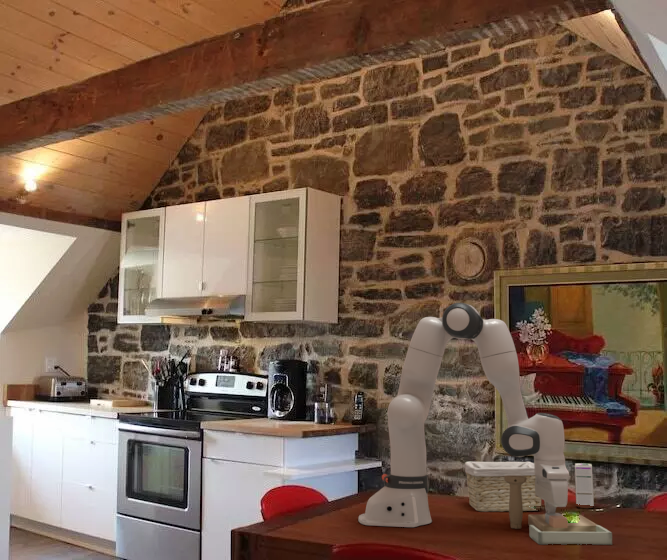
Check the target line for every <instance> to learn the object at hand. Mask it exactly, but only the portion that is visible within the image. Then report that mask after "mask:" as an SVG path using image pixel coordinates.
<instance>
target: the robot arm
mask: <svg viewBox="0 0 667 560" xmlns="http://www.w3.org/2000/svg"><path fill="white" fill-rule="evenodd" d="M469 339H470V340H472V341H473V342H474V344H475V345H476V348H477V352H478V355H479V359H480V364H481V367H482V370H483V372H484V375H485V377H486V379H487V380H488V381H489V382H490V383H491V385H492V386H494V388H495V389H496V390H497V391H498V394H499V396H500V398H501V400H502V405H503V407H504V408H503V409H504V412H505V415H506V419H507V427H506V428H505V429H504V431H503V432H502V433H501V438H500V441H501V446H502V448H503V450H504V451H505V452H506V453H507V454H508V455H510V456H512V457H515V458H522V457H525V456H526V457H527V456H533V463H534V474H535V494H536V496H538V497H539V498H541V500H543V501H544V506H545V507H544V508H545V513H556V510H557V508H566V507H567V504H568V498H569V497H568V496H569V485H568V484H569V483H568V480H570V472H569V470H568V469H567V467H566V457H565V453H564V451H565V450H564V449H565V444H566V443H565V442H566V441H565V429H564V424H563V421H562V419H561V418H560V417H558V416H557V415H554V414H551V413H546V412H545V413H544V412H537V413H536V414H535V415H533V416H531V417H529V415H528V411H527V408H526V405H525V401H524V398H523V394H522V390H521V380H520V379H521V378H520V366H519V358H518V354H517V350H516V346H515V343H514V340H513V337H512V334H511V332H510V329H509V326H508V325H507V324H506V322H505V321H504V320H501V319H499V318H489V319H485V318H483V317H482V316H481V313H480V312H479V311H478V310H477V309H476V307H474V306H473V305H472V304H468V303H464V302H454V303H453V304H450V305H449V306H447V307H446V309H445V310H444V311H443V313H442V317H435V316H426V317H422V319H420V320H419V321H418V323H417V325H416V327H415V329H414V331H413V334H412V336H411V340H410V343H409V346H408V348H407V352H406V355H405V359H404V362H403V365H402V369H401V375H400V382H399V386H398V389H397V395H396V396H395V397H394V398H393V399H392V400H391V401H390V403H389V404H388V407H387V423H388V424H387V425H388V436H389V445H390V473H388V474H387V473H383V474H382V475H381V480H382V481H383V487H382V488H380V489H379V490H378V491H377V492H375V493H374V494H373V495H372V496H370V497H369V499H368V500H367V502H366V505H365V506H366V507H365V512H364V513H362V514H359V516H358V522H359V523H360V524H361V525H365V526H377V527H397V528H398V527H399V528H401V527H402V528H403V527H404V528H417V527H419V526H424V525H428V524H431V523H432V522H433V520H432V517H431V512H430V507H429V499H428V493H429V475H428V473H427V447H426V435H425V433H426V432H425V421H427V418H428V416H429V412H430V410H431V409H430V407H431V404H432V401H433V397H434V392H435V387H436V383H437V378H438V375H439V371H440V370H441V369H440V368H441V364H442V362H443V359H444V358H443V357H444V355H445V351H446V348H447V346H448V343H449V342H450V340H469Z"/></svg>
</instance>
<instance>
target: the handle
mask: <svg viewBox="0 0 667 560" xmlns="http://www.w3.org/2000/svg"><path fill="white" fill-rule="evenodd" d="M504 479H505V481H506V482H507V483H509V484H510V497H509V511H508V516H509V522H510V523H509V524H510V528H511V529H516V530H519V529H522V522H523V516H524V515H523V514H524V513H523V512H524V511H523V509H522V508H523V506H522V492H521V485H522V484H523V483H525V482H526V477H525V476H514V475H508V476H504Z"/></svg>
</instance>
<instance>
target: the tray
mask: <svg viewBox="0 0 667 560" xmlns="http://www.w3.org/2000/svg"><path fill="white" fill-rule="evenodd" d="M528 526H529V527H528V529H529V531H528V532H529V534H528V535H529V538H531V539H532V541H534V542H535V543H537V544H538V545H548V544H552V546H553V544H561V545H566V546H567V544H577V545H578V546H579V544H580V545H582V544H586V545H585V546H587V544H592V545H591V546H593V545H597V546H600V545H602V546H603V545H604V546H605V545H607V546H611V545H612V546H613V532H612V531H610V530H608V529H607V528H605V527H603V526H602V525H599V524H597V525H596V532H541V531H540V530H539V529H537V528H536V527H535V526H534V525H528Z"/></svg>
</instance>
